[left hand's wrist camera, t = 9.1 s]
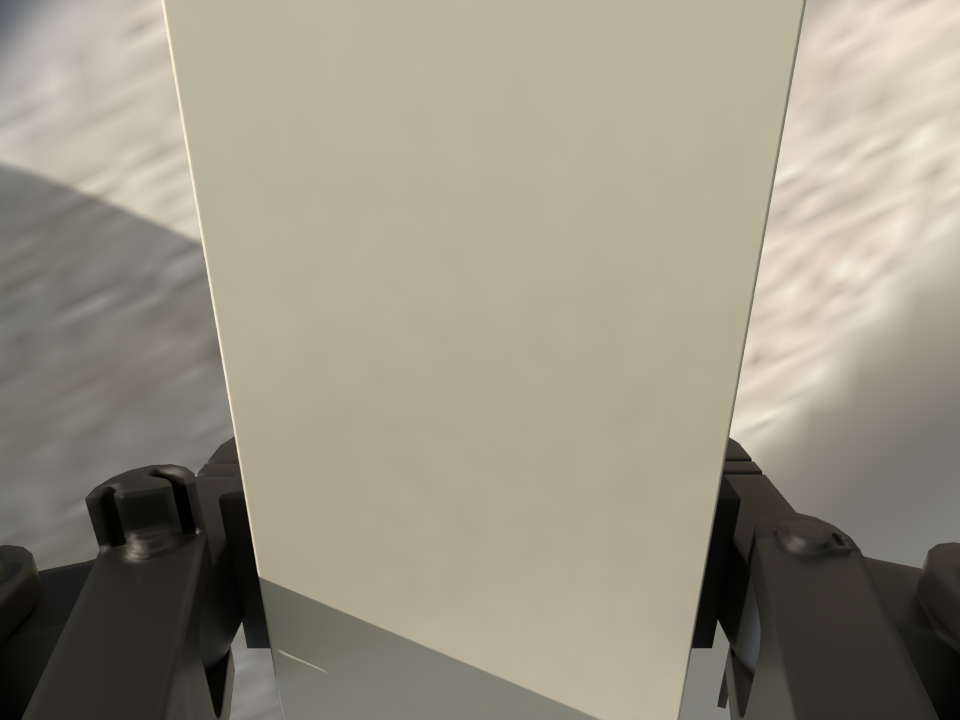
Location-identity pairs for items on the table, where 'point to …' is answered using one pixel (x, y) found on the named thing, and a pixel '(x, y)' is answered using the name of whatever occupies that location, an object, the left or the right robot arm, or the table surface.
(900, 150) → the table surface
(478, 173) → the bar
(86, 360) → the table surface
